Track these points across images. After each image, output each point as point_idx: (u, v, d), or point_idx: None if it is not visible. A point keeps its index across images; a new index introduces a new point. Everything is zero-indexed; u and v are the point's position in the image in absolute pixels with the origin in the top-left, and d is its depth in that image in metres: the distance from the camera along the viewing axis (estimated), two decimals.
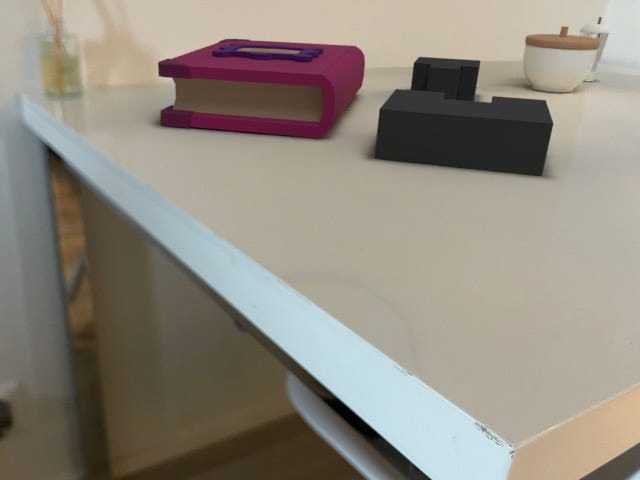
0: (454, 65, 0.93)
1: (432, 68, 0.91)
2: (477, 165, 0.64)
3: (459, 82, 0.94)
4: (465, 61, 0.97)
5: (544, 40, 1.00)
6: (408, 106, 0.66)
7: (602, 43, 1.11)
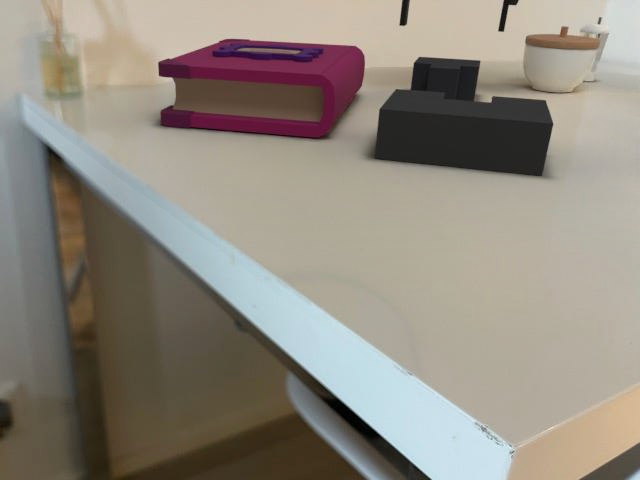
0: (454, 65, 0.93)
1: (432, 68, 0.91)
2: (477, 165, 0.64)
3: (459, 82, 0.94)
4: (465, 61, 0.97)
5: (544, 40, 1.00)
6: (408, 106, 0.66)
7: (602, 43, 1.11)
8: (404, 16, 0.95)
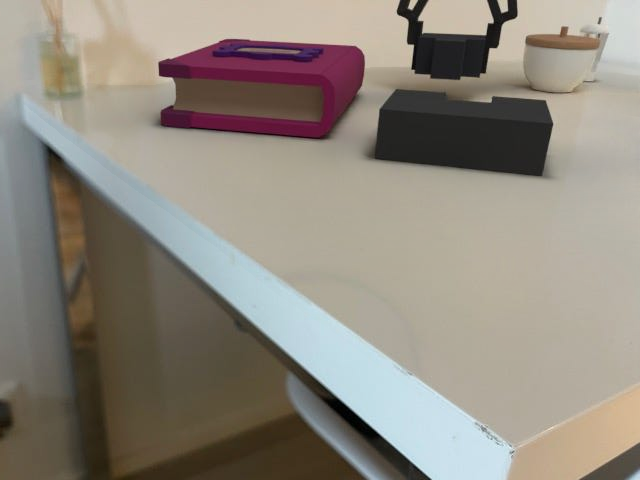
0: (460, 38, 0.91)
1: (437, 41, 0.89)
2: (477, 165, 0.64)
3: (465, 56, 0.92)
4: None
5: (544, 40, 1.00)
6: (408, 106, 0.66)
7: (602, 43, 1.11)
8: None
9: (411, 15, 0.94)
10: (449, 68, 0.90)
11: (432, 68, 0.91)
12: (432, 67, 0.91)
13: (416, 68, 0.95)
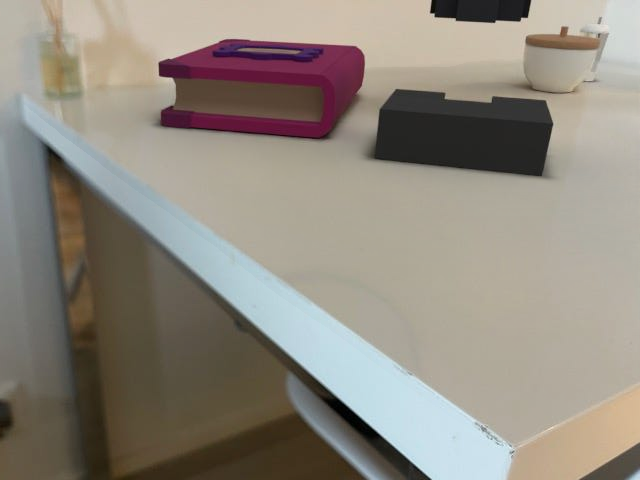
0: None
1: None
2: (477, 165, 0.64)
3: None
4: None
5: (544, 40, 1.00)
6: (408, 106, 0.66)
7: (602, 43, 1.11)
8: None
9: None
10: (482, 6, 0.68)
11: (458, 7, 0.69)
12: (459, 5, 0.68)
13: (437, 9, 0.72)
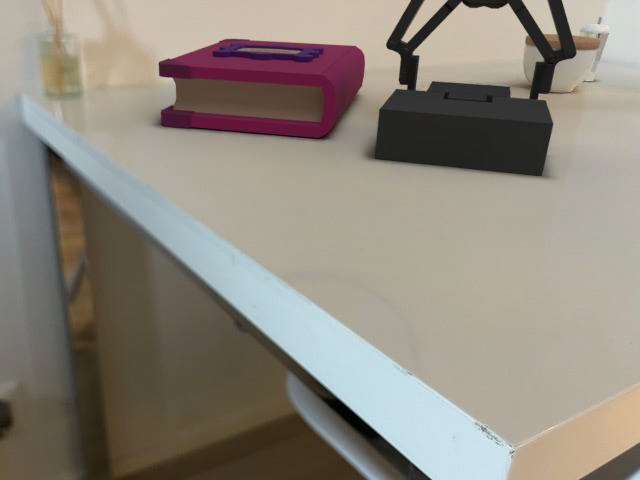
0: (478, 94, 0.73)
1: (451, 99, 0.71)
2: (477, 165, 0.64)
3: None
4: (491, 88, 0.77)
5: None
6: (408, 106, 0.66)
7: (602, 43, 1.11)
8: None
9: (405, 48, 0.76)
10: None
11: None
12: None
13: None
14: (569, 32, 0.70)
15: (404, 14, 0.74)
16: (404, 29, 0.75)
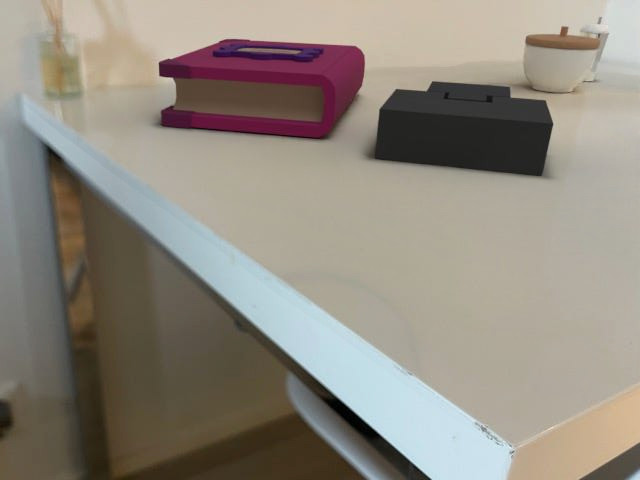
0: (478, 94, 0.73)
1: (451, 99, 0.71)
2: (477, 165, 0.64)
3: None
4: (491, 88, 0.77)
5: (544, 40, 1.00)
6: (408, 106, 0.66)
7: (602, 43, 1.11)
8: None
9: None
10: None
11: None
12: None
13: None
14: None
15: None
16: None
